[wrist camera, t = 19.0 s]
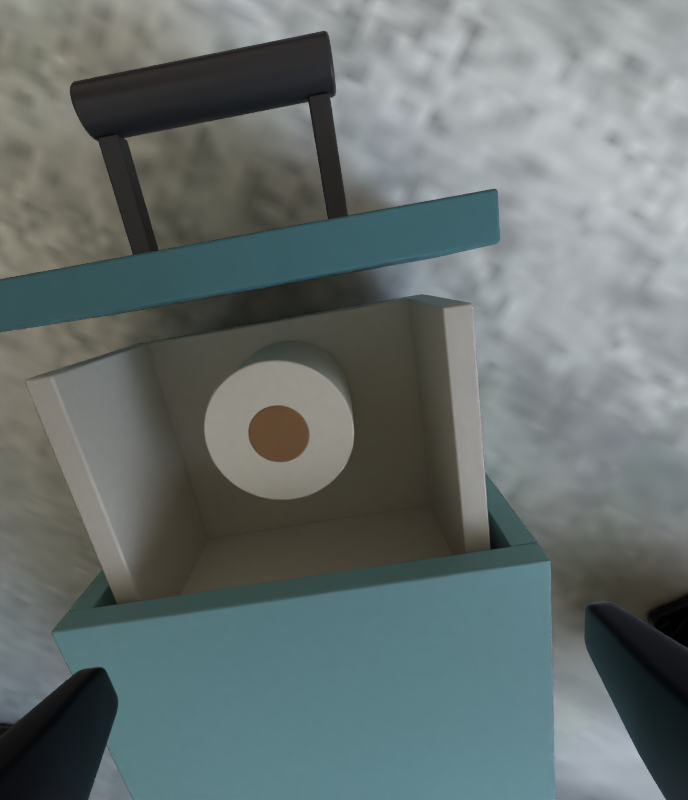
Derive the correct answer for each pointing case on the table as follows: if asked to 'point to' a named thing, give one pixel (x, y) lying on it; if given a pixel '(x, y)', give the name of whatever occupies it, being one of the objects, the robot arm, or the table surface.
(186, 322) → the table surface
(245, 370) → the label roll
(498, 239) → the drawer
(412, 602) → the teal cabinet
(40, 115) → the table surface
